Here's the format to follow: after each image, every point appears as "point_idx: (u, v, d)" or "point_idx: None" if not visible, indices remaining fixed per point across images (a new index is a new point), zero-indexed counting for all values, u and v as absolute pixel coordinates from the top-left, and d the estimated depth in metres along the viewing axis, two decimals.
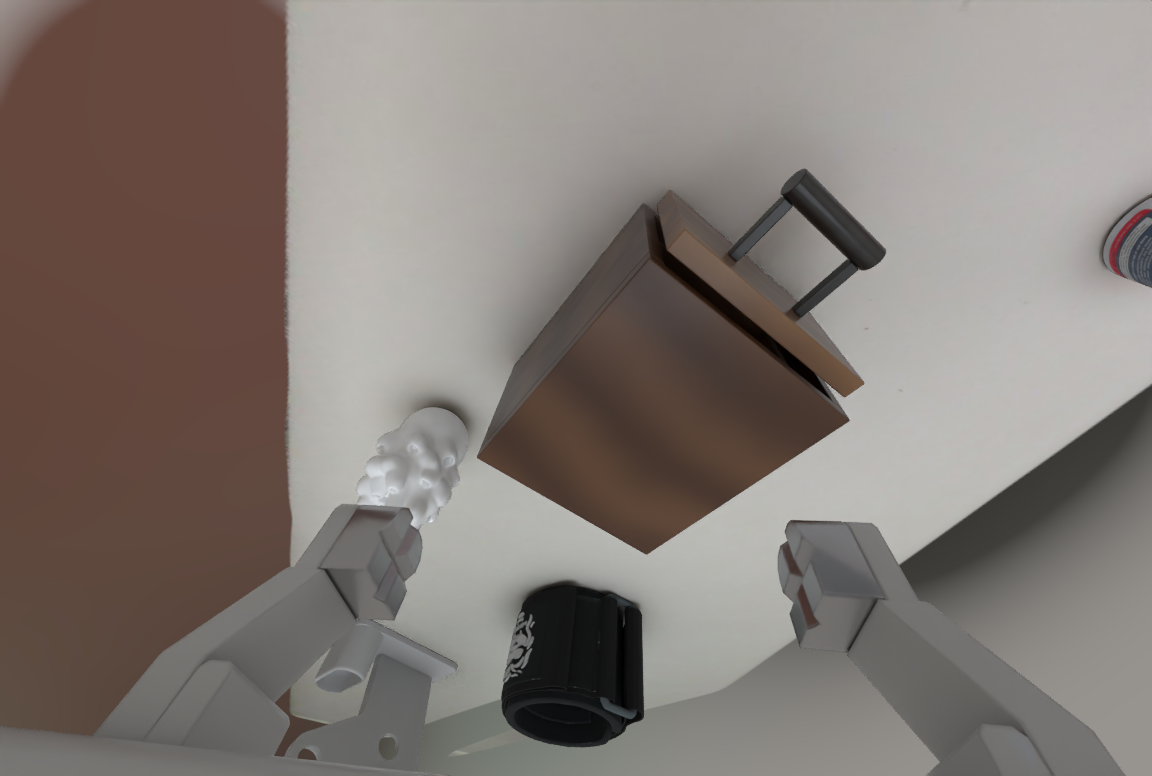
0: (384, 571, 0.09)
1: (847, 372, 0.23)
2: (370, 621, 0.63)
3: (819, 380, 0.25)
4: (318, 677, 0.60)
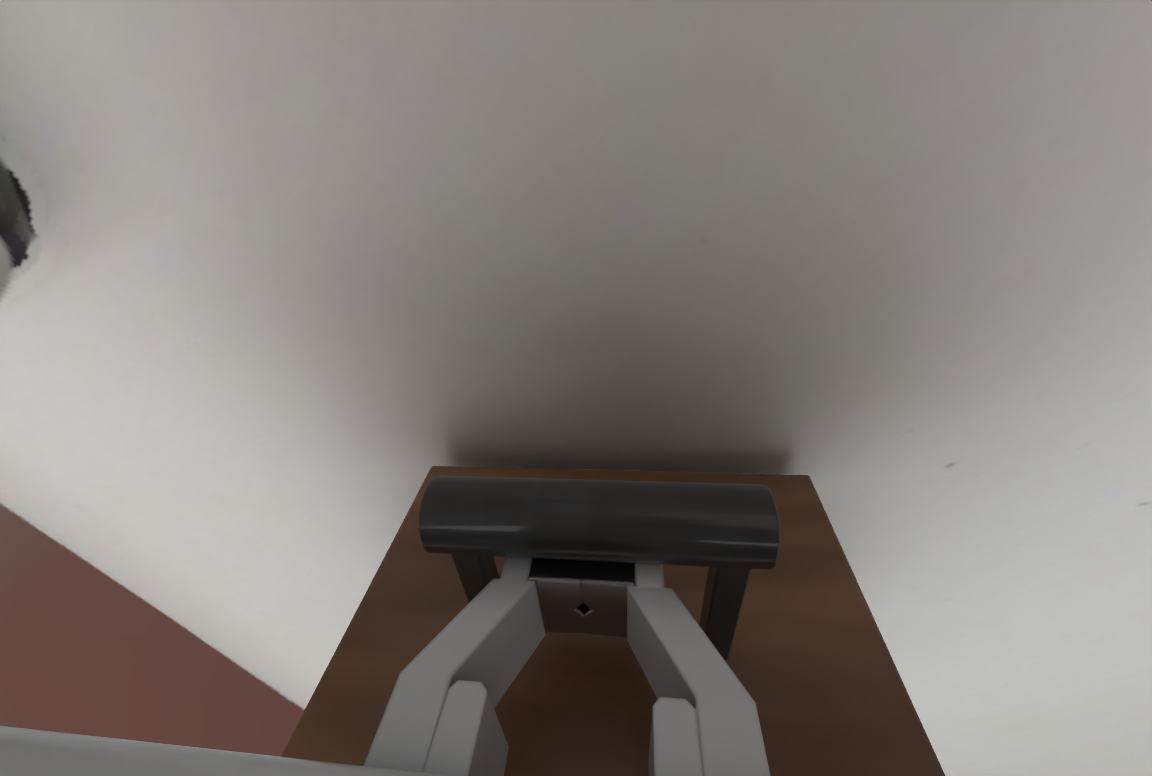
0: None
1: None
2: None
3: None
4: None
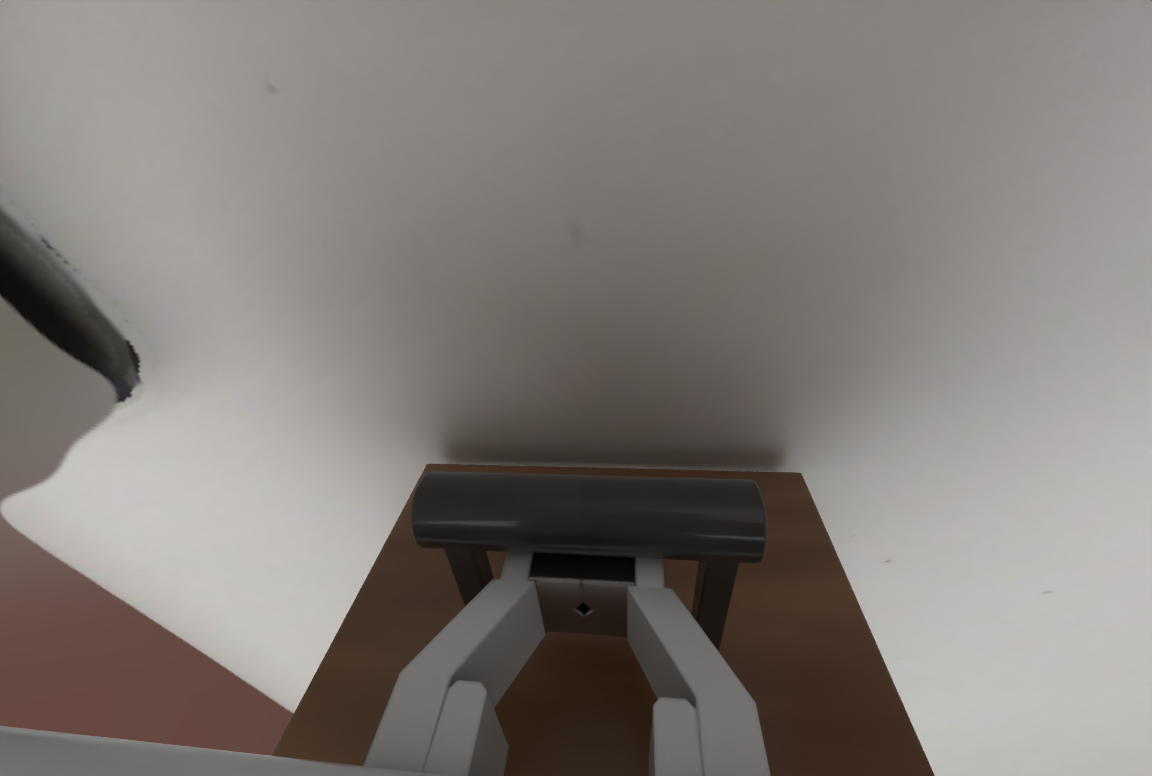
0: None
1: None
2: None
3: None
4: None
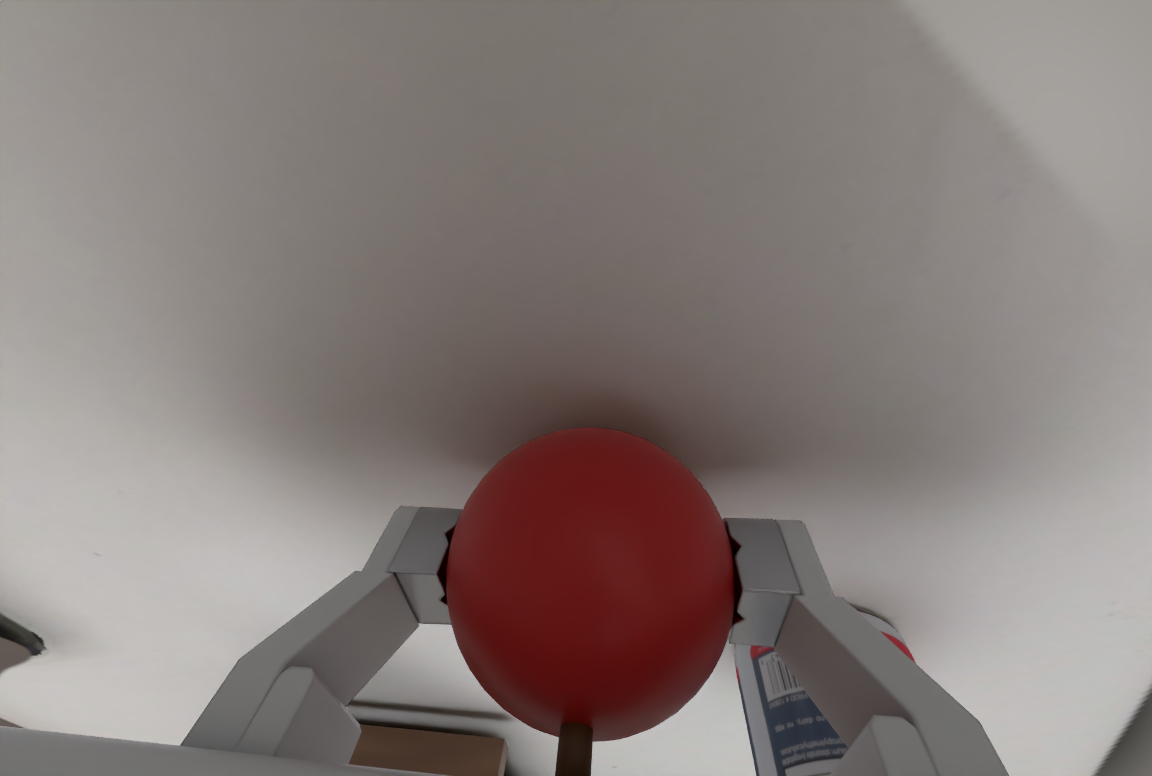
0: None
1: None
2: None
3: None
4: None
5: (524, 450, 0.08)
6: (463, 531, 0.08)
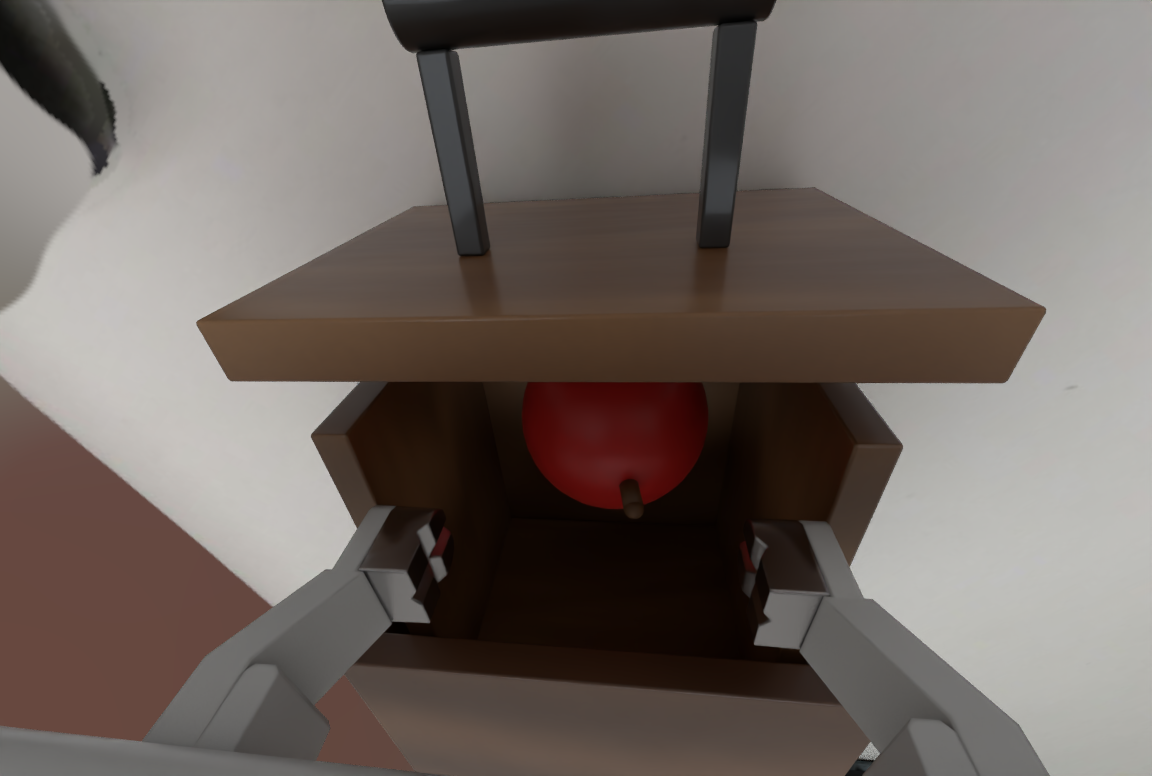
0: (421, 573, 0.09)
1: (940, 321, 0.06)
2: None
3: None
4: None
5: None
6: (539, 389, 0.12)
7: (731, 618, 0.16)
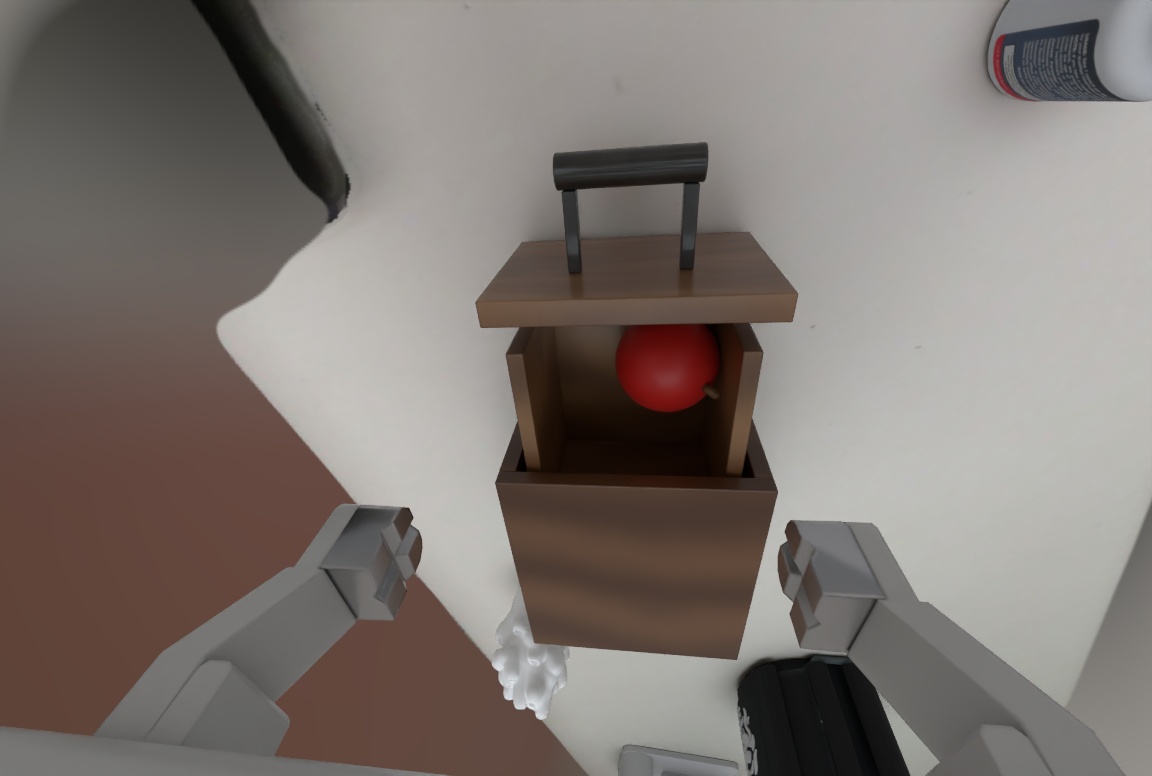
0: (384, 571, 0.09)
1: (762, 298, 0.17)
2: (632, 746, 0.66)
3: (747, 448, 0.23)
4: None
5: None
6: (648, 354, 0.22)
7: None
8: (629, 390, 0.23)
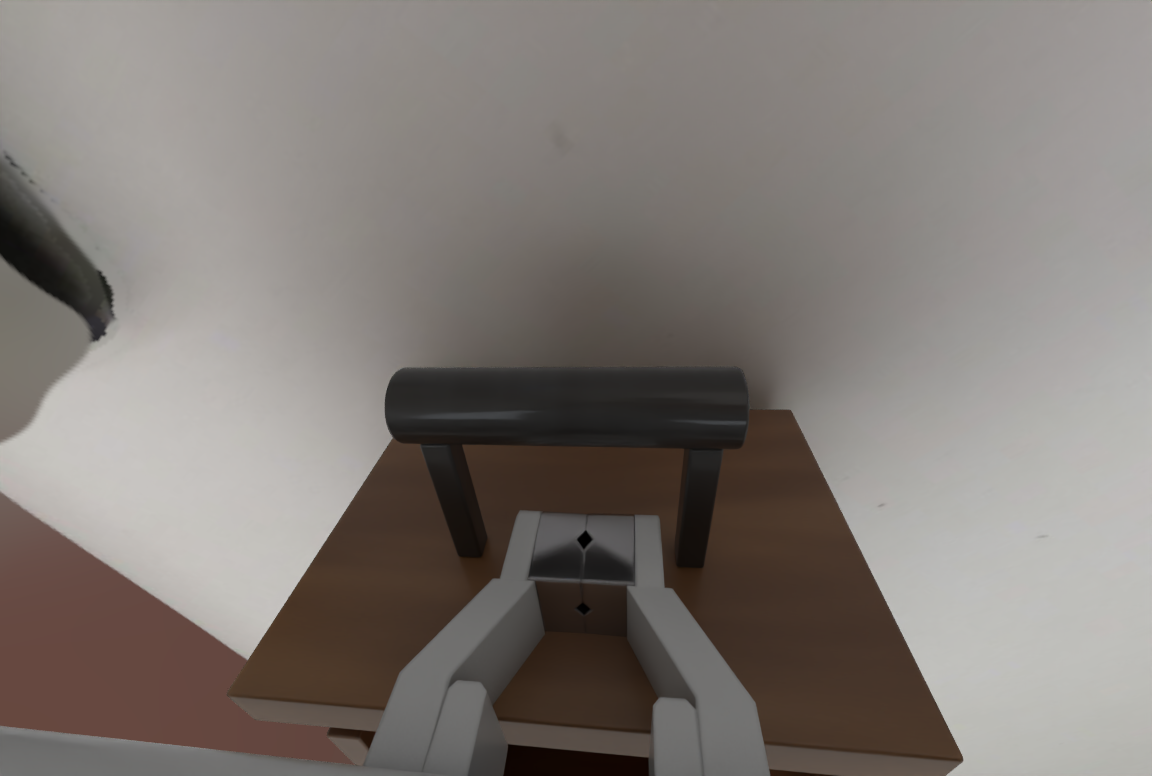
0: None
1: (875, 757, 0.07)
2: None
3: None
4: None
5: None
6: None
7: None
8: None
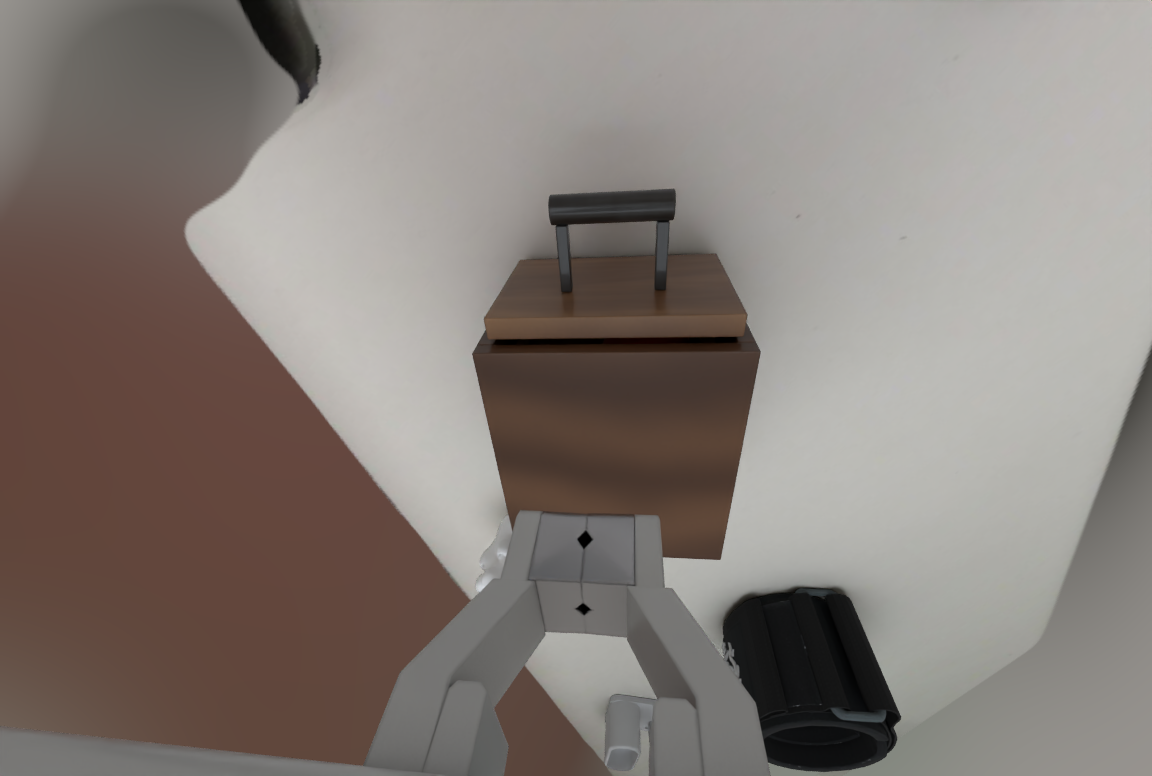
0: None
1: (719, 317, 0.21)
2: (619, 696, 0.66)
3: None
4: (605, 760, 0.65)
5: None
6: (629, 339, 0.26)
7: None
8: None
